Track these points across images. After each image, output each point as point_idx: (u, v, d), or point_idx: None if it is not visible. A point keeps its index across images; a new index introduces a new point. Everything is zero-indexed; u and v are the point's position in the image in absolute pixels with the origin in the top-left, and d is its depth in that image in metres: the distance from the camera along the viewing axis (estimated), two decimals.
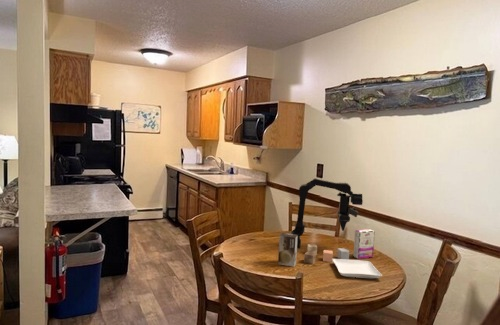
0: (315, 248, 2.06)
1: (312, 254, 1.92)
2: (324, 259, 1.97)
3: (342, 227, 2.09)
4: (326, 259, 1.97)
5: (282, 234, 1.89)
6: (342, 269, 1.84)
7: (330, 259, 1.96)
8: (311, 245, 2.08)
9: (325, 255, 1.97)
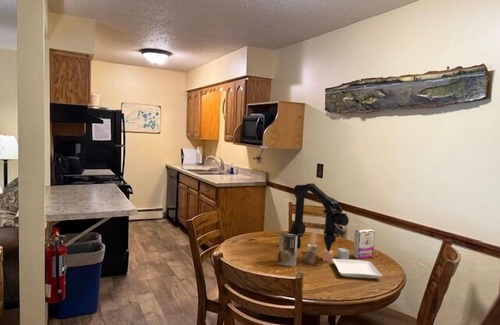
0: (315, 248, 2.06)
1: (312, 254, 1.92)
2: (324, 259, 1.97)
3: (327, 247, 1.93)
4: (326, 259, 1.97)
5: (282, 234, 1.89)
6: (342, 269, 1.84)
7: (330, 259, 1.96)
8: (311, 245, 2.08)
9: (325, 255, 1.97)
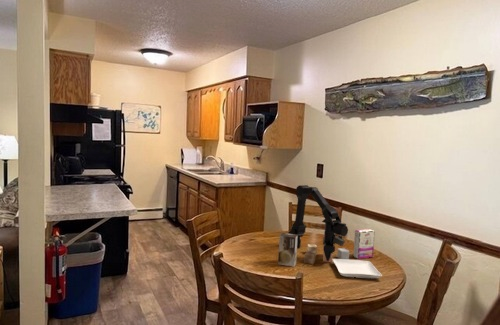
0: (315, 248, 2.06)
1: (312, 254, 1.92)
2: (324, 259, 1.97)
3: (327, 257, 1.94)
4: None
5: (282, 234, 1.89)
6: (342, 269, 1.84)
7: (330, 259, 1.96)
8: (311, 245, 2.08)
9: None
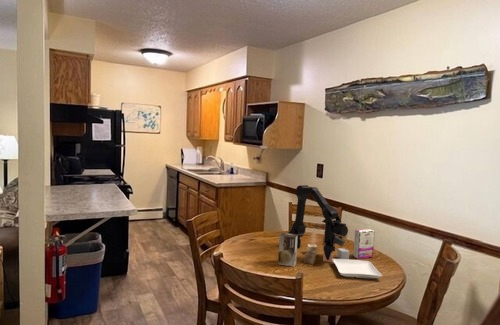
0: (315, 248, 2.06)
1: (312, 254, 1.92)
2: (324, 259, 1.97)
3: (327, 256, 1.95)
4: (326, 259, 1.97)
5: (282, 234, 1.89)
6: (342, 269, 1.84)
7: (330, 259, 1.96)
8: (311, 245, 2.08)
9: None
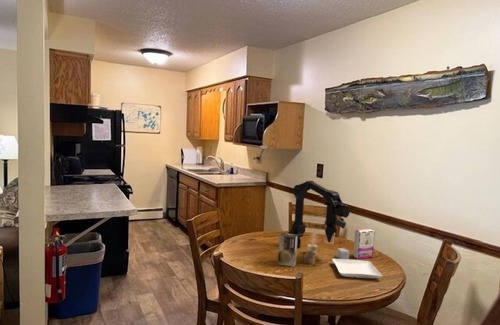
0: (315, 248, 2.06)
1: (312, 254, 1.92)
2: (326, 241, 1.96)
3: (328, 238, 1.95)
4: None
5: (282, 234, 1.89)
6: (342, 269, 1.84)
7: (332, 241, 1.95)
8: (311, 245, 2.08)
9: None
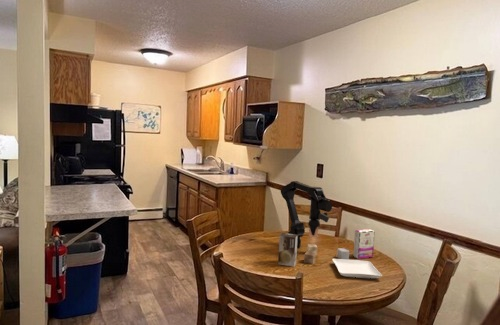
0: (315, 248, 2.06)
1: (312, 254, 1.92)
2: (310, 234, 2.05)
3: (312, 232, 2.04)
4: None
5: (282, 234, 1.89)
6: (342, 269, 1.84)
7: (315, 234, 2.05)
8: (311, 245, 2.08)
9: None
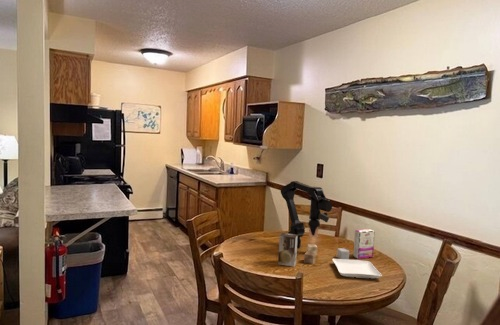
0: (315, 248, 2.06)
1: (312, 254, 1.92)
2: (310, 234, 2.05)
3: (312, 232, 2.04)
4: None
5: (282, 234, 1.89)
6: (342, 269, 1.84)
7: (315, 234, 2.05)
8: (311, 245, 2.08)
9: None
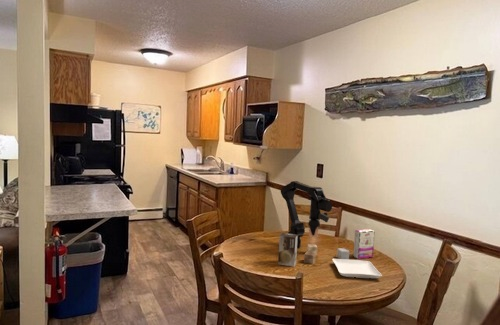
0: (315, 248, 2.06)
1: (312, 254, 1.92)
2: (310, 234, 2.05)
3: (312, 232, 2.04)
4: None
5: (282, 234, 1.89)
6: (342, 269, 1.84)
7: (315, 234, 2.05)
8: (311, 245, 2.08)
9: None
